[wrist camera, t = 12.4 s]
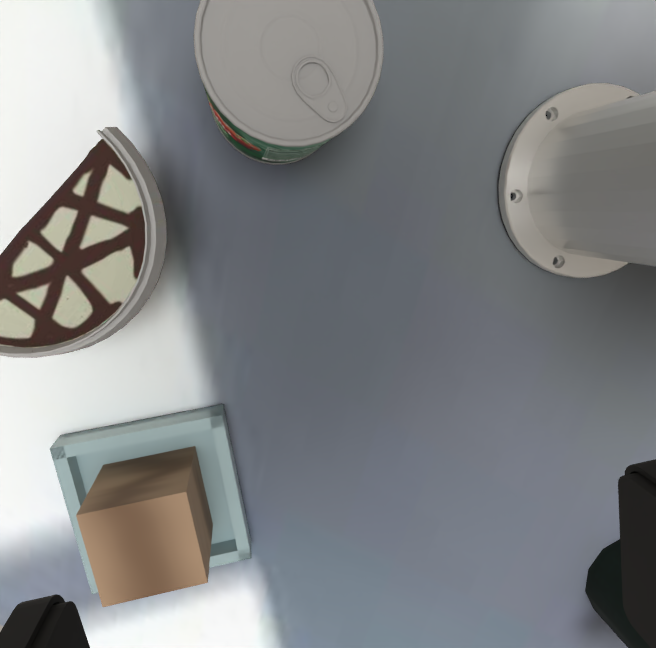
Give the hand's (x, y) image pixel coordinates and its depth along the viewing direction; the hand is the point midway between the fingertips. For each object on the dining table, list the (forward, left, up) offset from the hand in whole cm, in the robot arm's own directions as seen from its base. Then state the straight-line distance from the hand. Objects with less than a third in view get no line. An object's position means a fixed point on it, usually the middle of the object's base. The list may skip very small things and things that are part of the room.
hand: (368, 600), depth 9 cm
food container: (+9, -5, -28) cm, 29 cm away
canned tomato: (-2, -13, -28) cm, 31 cm away
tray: (+10, +11, -27) cm, 31 cm away
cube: (+10, +11, -27) cm, 31 cm away
